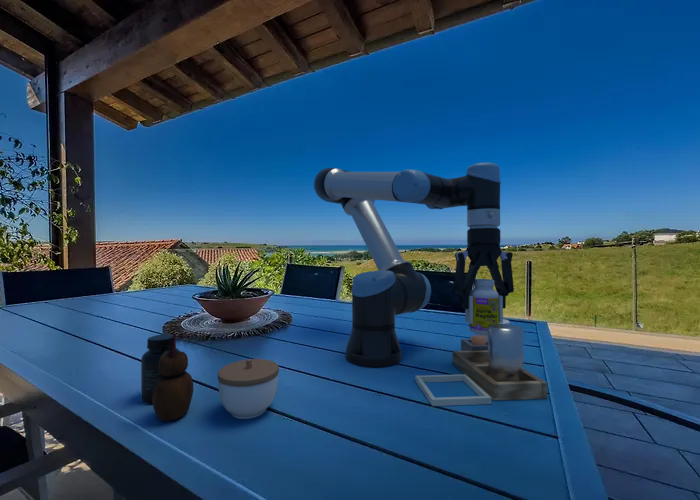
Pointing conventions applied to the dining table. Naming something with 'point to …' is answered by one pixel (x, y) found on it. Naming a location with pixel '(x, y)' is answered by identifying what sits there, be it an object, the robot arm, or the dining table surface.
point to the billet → (505, 352)
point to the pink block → (478, 340)
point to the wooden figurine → (172, 386)
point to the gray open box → (472, 346)
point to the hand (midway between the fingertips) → (483, 321)
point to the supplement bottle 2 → (484, 306)
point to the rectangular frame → (448, 401)
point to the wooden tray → (477, 371)
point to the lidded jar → (248, 387)
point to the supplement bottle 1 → (153, 363)
